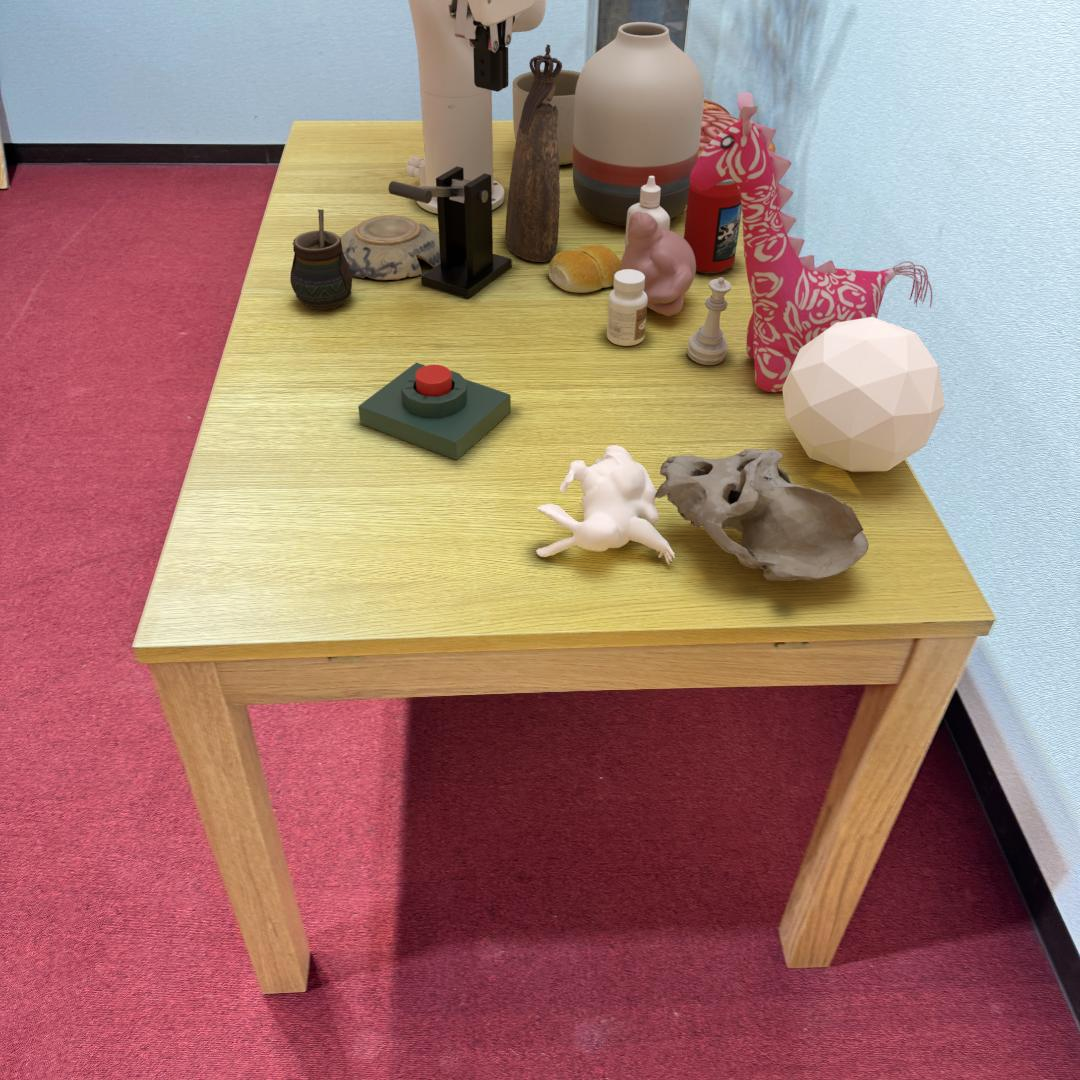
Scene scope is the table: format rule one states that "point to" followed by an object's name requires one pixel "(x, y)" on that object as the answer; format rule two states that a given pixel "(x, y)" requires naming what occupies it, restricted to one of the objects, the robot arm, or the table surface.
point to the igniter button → (433, 380)
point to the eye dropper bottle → (649, 206)
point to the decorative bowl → (389, 247)
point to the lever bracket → (465, 239)
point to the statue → (536, 170)
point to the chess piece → (711, 328)
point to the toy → (784, 254)
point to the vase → (636, 123)
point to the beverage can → (713, 225)
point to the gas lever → (430, 191)
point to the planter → (561, 99)
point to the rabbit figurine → (609, 507)
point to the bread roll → (584, 268)
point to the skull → (765, 514)
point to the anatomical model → (716, 124)
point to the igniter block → (435, 413)
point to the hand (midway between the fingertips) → (491, 86)
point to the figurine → (659, 263)
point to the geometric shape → (863, 395)
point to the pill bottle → (627, 308)
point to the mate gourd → (320, 269)
